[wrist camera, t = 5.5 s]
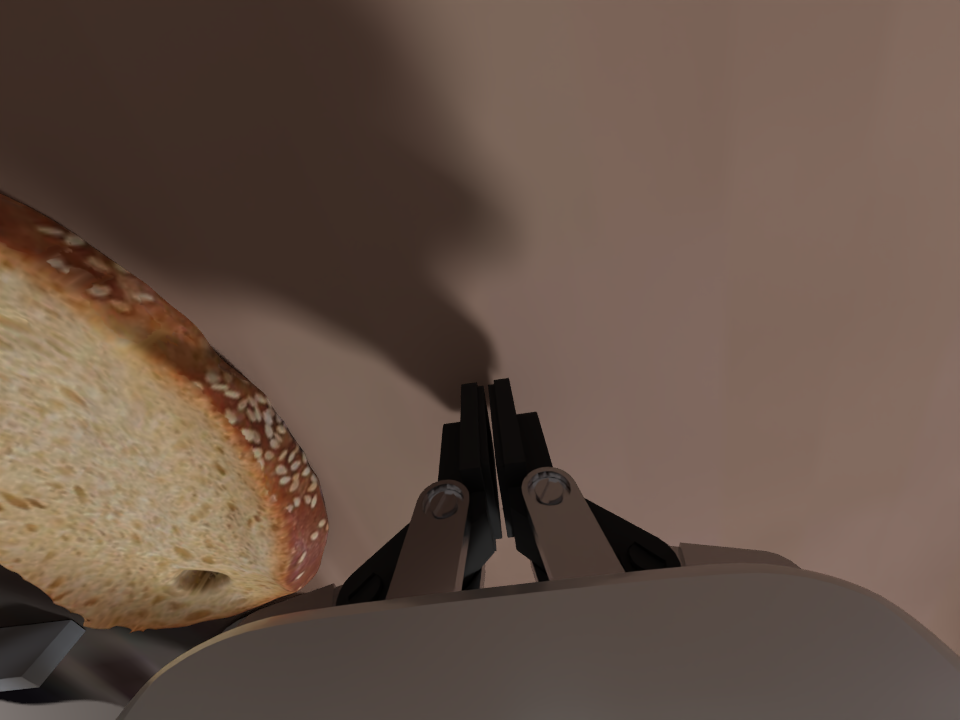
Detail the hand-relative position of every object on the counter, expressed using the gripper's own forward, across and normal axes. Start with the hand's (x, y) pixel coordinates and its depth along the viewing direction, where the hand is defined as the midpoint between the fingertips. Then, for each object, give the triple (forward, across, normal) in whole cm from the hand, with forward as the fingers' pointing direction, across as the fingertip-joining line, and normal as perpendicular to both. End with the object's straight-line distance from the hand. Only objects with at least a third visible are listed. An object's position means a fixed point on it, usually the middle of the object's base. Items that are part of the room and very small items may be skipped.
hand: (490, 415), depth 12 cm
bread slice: (+2, +15, 0) cm, 15 cm away
